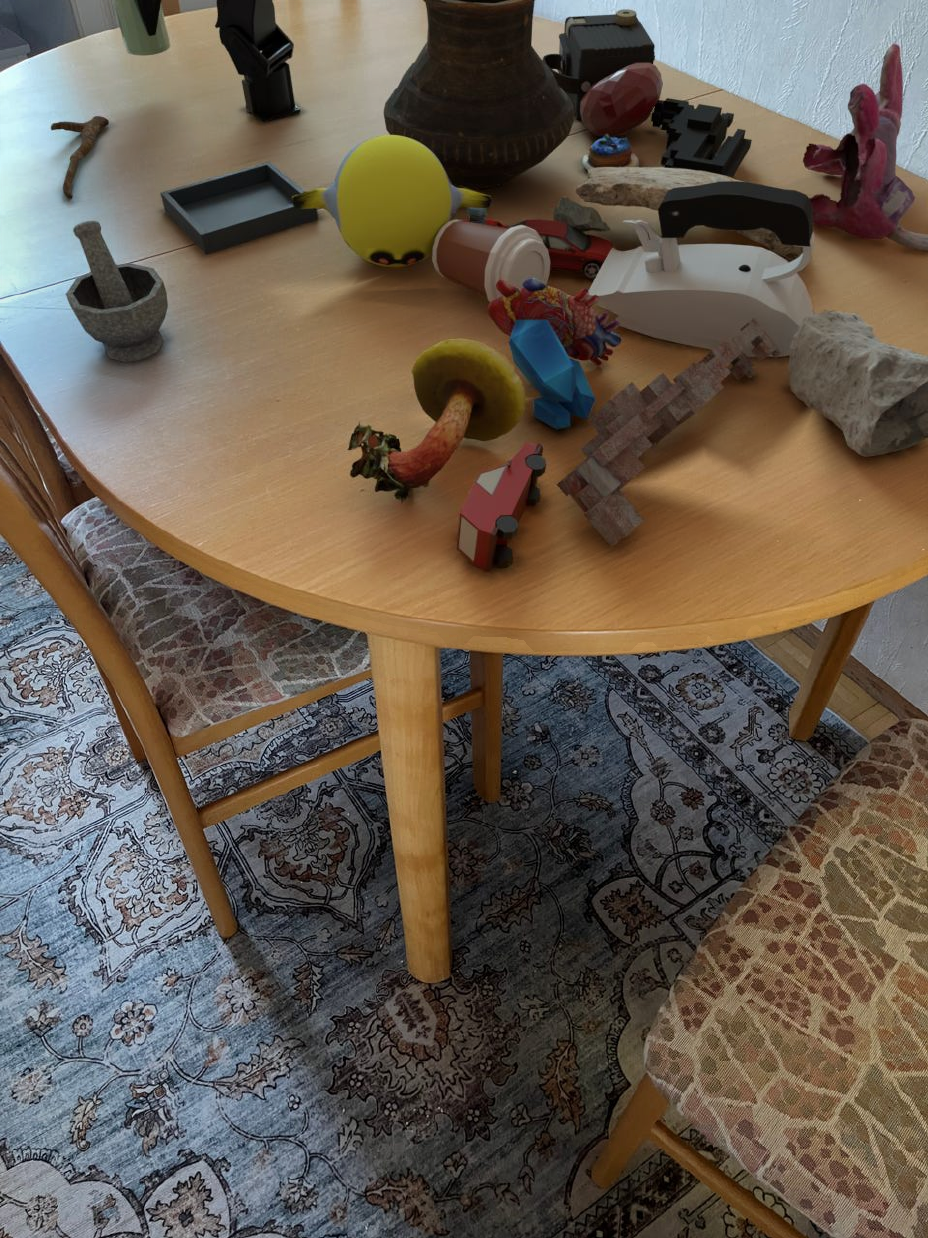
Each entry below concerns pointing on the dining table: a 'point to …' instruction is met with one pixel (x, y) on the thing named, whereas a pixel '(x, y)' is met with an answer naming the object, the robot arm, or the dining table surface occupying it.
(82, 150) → the branch
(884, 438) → the decorative stone
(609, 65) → the camera
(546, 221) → the toy car
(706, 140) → the tool
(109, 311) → the mortar and pestle
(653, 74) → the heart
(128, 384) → the dining table surface
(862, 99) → the toy
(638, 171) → the stone fragment
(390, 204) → the toy
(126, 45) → the cup
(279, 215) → the tray
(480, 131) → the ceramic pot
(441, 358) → the mushroom
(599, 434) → the sculpture
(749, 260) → the iron
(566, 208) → the stone
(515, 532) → the toy truck
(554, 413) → the crystal
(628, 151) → the dessert
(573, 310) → the anatomical model
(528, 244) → the coffee cup
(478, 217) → the button
